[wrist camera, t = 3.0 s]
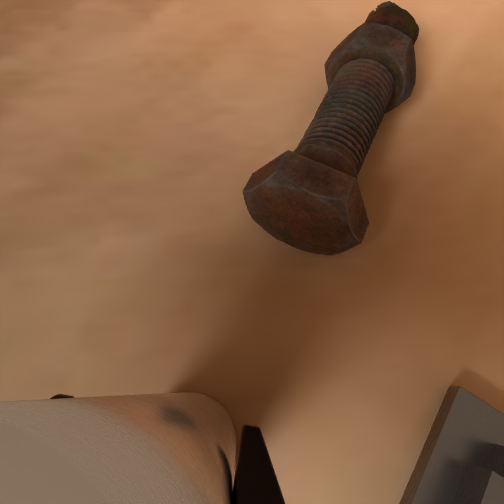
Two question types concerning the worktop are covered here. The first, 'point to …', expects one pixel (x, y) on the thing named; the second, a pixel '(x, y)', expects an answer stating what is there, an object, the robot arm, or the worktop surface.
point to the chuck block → (461, 455)
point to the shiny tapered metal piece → (117, 450)
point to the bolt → (338, 139)
